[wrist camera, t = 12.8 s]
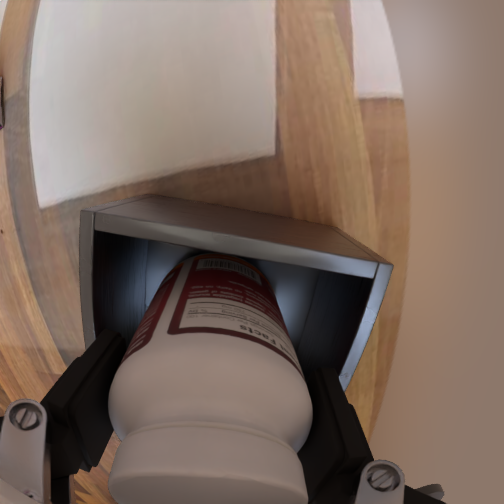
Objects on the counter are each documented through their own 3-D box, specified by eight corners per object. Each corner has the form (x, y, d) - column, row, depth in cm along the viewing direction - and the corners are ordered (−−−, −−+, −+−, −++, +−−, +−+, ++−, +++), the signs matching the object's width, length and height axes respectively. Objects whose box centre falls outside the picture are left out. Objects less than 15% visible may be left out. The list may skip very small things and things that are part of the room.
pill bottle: (194, 366, 16) (173, 542, 5) (137, 278, 14) (25, 450, 4) (293, 328, 16) (357, 512, 5) (247, 228, 14) (291, 411, 3)
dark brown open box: (338, 227, 15) (394, 265, 8) (293, 382, 17) (307, 460, 11) (146, 193, 14) (79, 209, 8) (138, 355, 17) (100, 424, 11)
